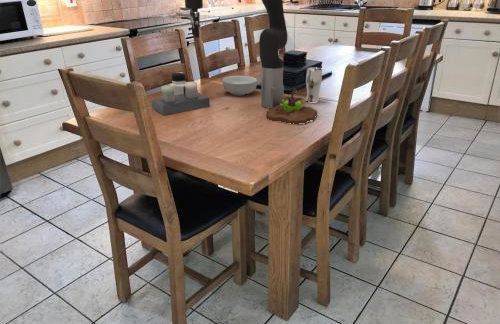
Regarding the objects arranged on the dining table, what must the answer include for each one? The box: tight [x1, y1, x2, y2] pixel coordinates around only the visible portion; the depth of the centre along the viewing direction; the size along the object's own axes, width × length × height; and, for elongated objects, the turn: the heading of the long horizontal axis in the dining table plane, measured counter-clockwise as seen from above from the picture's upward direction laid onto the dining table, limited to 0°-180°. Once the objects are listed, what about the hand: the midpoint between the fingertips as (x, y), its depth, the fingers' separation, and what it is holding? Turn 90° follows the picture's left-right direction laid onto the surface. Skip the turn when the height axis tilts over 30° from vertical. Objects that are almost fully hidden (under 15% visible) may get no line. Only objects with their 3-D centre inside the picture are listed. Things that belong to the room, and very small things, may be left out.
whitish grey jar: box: [185, 81, 199, 99], centre depth 178 cm, size 5×5×7 cm
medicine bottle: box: [169, 71, 187, 95], centre depth 188 cm, size 7×7×12 cm
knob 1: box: [160, 84, 175, 103], centre depth 172 cm, size 5×5×7 cm
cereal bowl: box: [222, 75, 258, 96], centre depth 197 cm, size 17×17×7 cm
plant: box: [265, 89, 318, 124], centre depth 165 cm, size 20×20×11 cm
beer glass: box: [305, 66, 323, 102], centre depth 183 cm, size 7×7×15 cm
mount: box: [150, 92, 211, 116], centre depth 177 cm, size 12×22×4 cm, turn 125°
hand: (195, 36), depth 178 cm, fingers open, 8 cm apart
